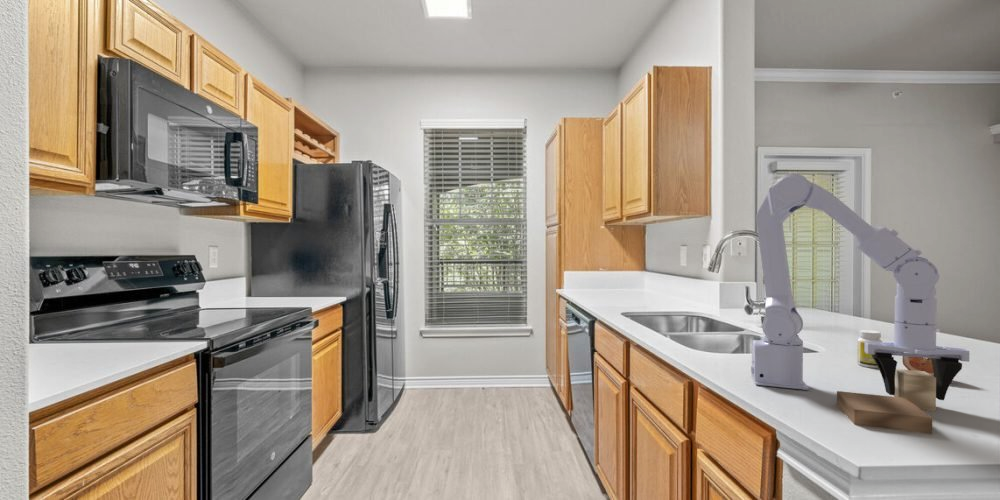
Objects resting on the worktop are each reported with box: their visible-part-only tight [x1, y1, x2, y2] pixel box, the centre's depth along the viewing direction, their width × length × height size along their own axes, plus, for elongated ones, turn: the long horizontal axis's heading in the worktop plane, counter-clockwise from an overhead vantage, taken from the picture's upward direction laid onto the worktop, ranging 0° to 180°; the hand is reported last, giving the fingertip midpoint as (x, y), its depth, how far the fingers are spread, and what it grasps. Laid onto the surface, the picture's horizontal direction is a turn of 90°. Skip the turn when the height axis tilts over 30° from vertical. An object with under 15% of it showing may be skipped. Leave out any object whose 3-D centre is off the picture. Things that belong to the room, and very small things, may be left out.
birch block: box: [893, 368, 937, 412], centre depth 84 cm, size 4×4×6 cm
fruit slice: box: [901, 356, 934, 376], centre depth 101 cm, size 8×7×5 cm
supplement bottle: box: [857, 329, 883, 369], centre depth 111 cm, size 5×5×8 cm
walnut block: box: [836, 390, 933, 435], centre depth 78 cm, size 10×10×3 cm
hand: (914, 395), depth 84 cm, fingers open, 6 cm apart
